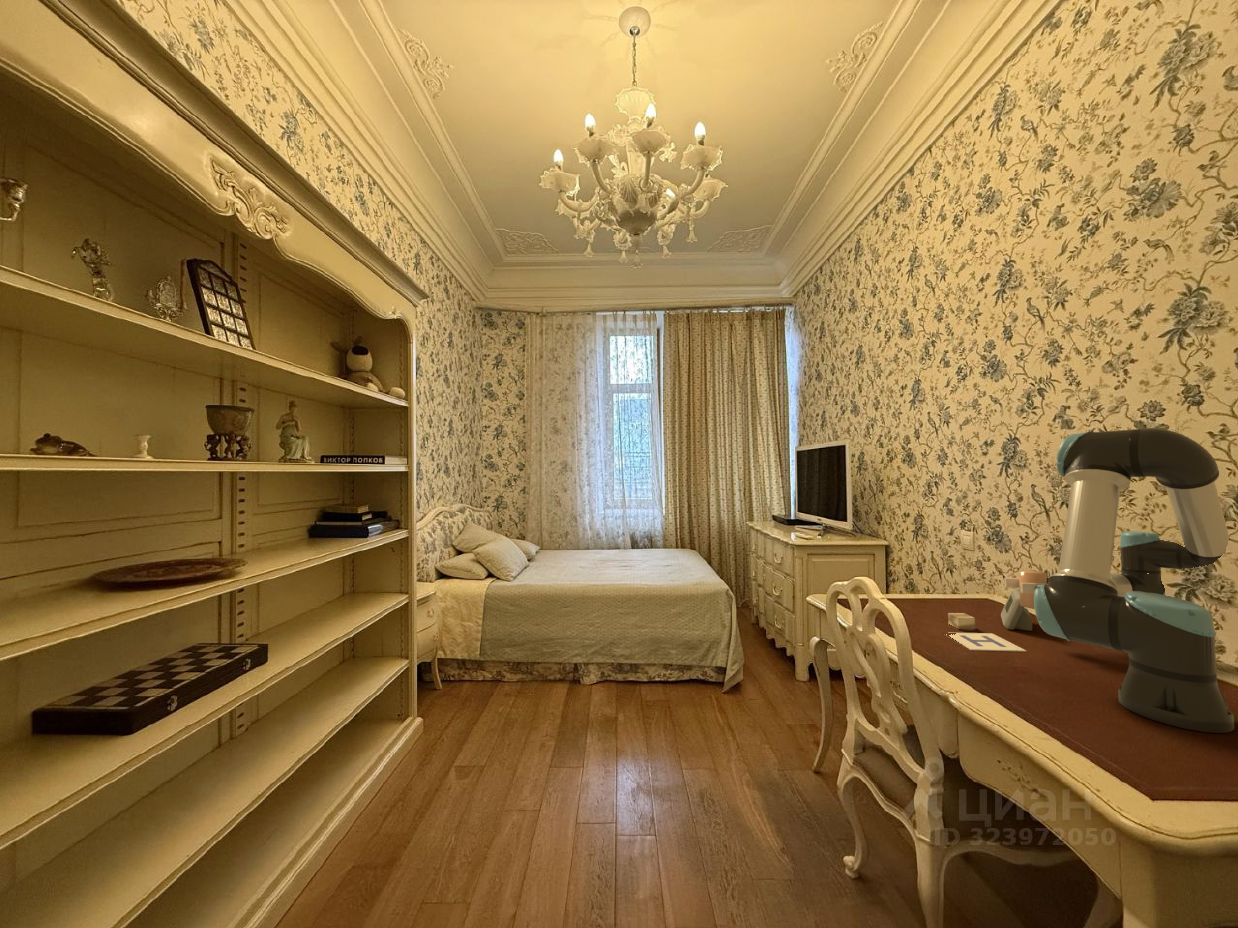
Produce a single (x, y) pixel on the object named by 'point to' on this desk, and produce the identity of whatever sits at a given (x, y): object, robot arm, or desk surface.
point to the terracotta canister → (1030, 577)
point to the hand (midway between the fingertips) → (1013, 585)
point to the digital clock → (1016, 613)
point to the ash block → (961, 620)
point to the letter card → (985, 642)
